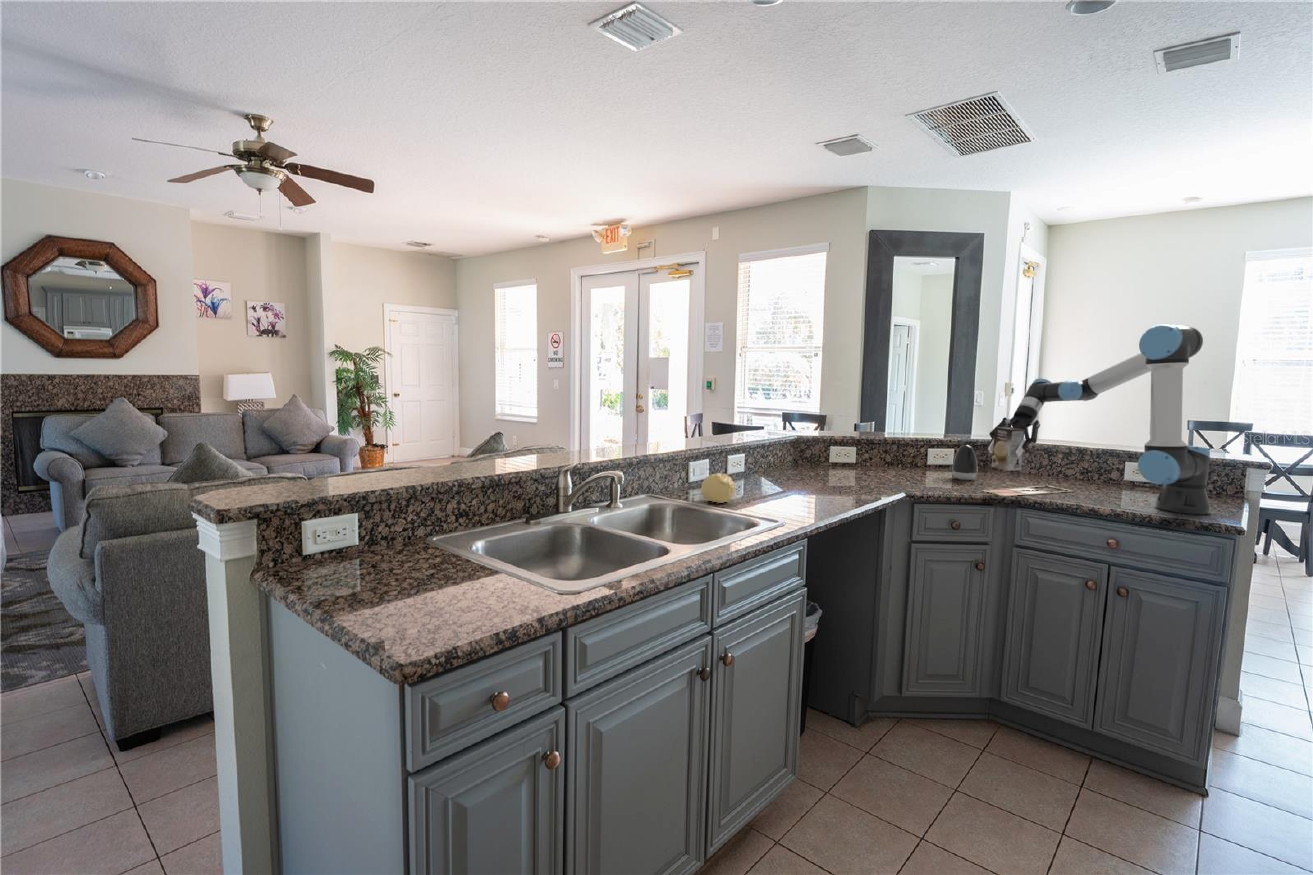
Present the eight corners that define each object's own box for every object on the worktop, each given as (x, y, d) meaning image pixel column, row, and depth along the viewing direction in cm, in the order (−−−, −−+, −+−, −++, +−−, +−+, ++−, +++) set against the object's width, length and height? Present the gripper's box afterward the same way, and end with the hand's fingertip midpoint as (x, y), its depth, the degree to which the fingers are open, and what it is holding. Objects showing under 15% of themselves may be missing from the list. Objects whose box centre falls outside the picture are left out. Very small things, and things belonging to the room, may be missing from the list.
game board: (1073, 492, 262) (1073, 490, 262) (1005, 497, 250) (1005, 495, 250) (1047, 486, 273) (1047, 485, 272) (981, 491, 261) (981, 490, 261)
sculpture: (733, 506, 230) (734, 476, 229) (699, 504, 232) (699, 474, 231) (735, 499, 241) (736, 470, 240) (702, 498, 243) (703, 469, 242)
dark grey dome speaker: (972, 477, 292) (975, 443, 290) (980, 481, 282) (982, 446, 280) (948, 476, 294) (950, 443, 292) (954, 480, 284) (957, 446, 282)
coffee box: (990, 466, 261) (993, 426, 259) (1004, 466, 262) (1007, 426, 260) (1008, 470, 252) (1011, 429, 250) (1022, 470, 253) (1025, 429, 251)
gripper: (1060, 419, 254) (1036, 463, 247) (1002, 414, 272) (978, 455, 266) (1055, 406, 250) (1030, 450, 243) (996, 402, 269) (972, 442, 262)
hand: (1003, 452), depth 254 cm, fingers closed on coffee box, 10 cm apart
